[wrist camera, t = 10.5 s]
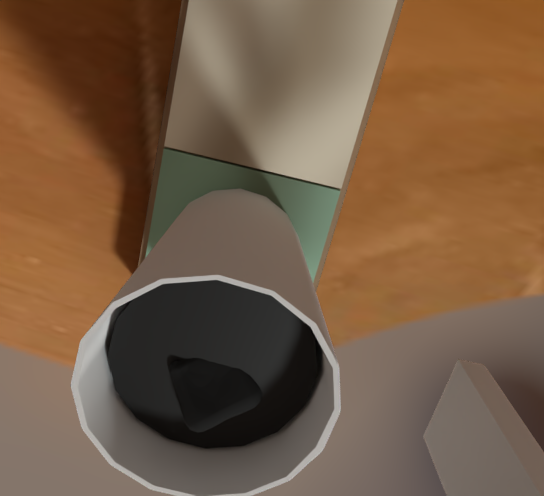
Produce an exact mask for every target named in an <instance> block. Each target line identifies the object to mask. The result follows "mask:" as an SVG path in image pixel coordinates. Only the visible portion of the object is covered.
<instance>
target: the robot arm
mask: <svg viewBox="0 0 544 496" xmlns="http://www.w3.org/2000/svg"><path fill="white" fill-rule="evenodd" d="M423 438H424V440H425V443H426V445H427V448H428V450H429V452H430V455H431V458H432V460H433V463H434V465H435V468H436V470H437V473H438V475H439V478H440V480H441V483H442V485H443V488H444V490H445V493H446V495H447V496H544V452H543V450H542V449H541V448H540V446H539V445H538V443H537V442H536V440H535V439H534V438H533V436H532V434H531V433H530V431H529V430H528V428H527V427H526V425H525V424H524V423H523V421H522V420H521V418H520V417H519V415H518V414H517V412H516V411H515V409H514V408H513V407H512V405H511V403H510V402H509V400H508V399H507V398H506V396H505V395H504V393H503V392H502V390H501V389H500V387H499V386H498V384H497V383H496V381H495V380H494V378H493V377H492V376H491V374H490V373H489V371H488V370H487V368H486V367H485V365H483V364H478V363H474V362H469V361H465V360H460V359H458V360H457V363H456V365H455V367H454V369H453V371H452V374H451V376H450V378H449V380H448V383H447V385H446V387H445V389H444V391H443V394H442V396H441V398H440V400H439V402H438V405H437V407H436V409H435V412H434V414H433V416H432V418H431V420H430V423H429V425H428V427H427V429H426V431H425V434H424V436H423Z"/></svg>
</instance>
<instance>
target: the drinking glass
mask: <svg viewBox="0 0 544 496" xmlns="http://www.w3.org/2000/svg"><path fill="white" fill-rule="evenodd" d="M71 388H72V393H73V397H74V401H75V404H76V408H77V412H78V416H79V420H80V424H81V428H82V430H83V431H84V432H85V433H86V435H87V436H88V437H89V439H90V440H91V441H92V442H93V444H94V445H95V446H96V447H97V449H98V450H99V451H100V452H101V454H102V455H103V456H104V458H105V459H106V460H107V461H108V463H109V464H110V465H112V466H113V467H115V468H116V469H118V470H120V471H121V472H123V473H124V474H126V475H128V476H130V477H131V478H133V479H134V480H136V481H138V482H139V483H141V484H142V485H144V486H146V487H147V488H149V489H151V490H154V491H159V492H163V493H167V494H171V495H176V496H252V495H255V494H257V493H260V492H262V491H265V490H267V489H270V488H272V487H275V486H277V485H280V484H282V483H285V482H287V481H290V480H291V479H292V478H293V477H294V476H295V475H296V474H298V473H299V472H300V471H301V470H302V469H303V468H304V467H305V466H306V465H308V464H309V463H310V462H311V461H312V460H313V459H314V458H315V457H316V456H317V455H319V454H320V453H321V452H322V451H323V449H324V447H325V445H326V442H327V440H328V438H329V436H330V434H331V432H332V429H333V427H334V425H335V423H336V420H337V418H338V416H339V414H340V412H341V404H340V375H339V364H338V361H337V358H336V355H335V352H334V348H333V345H332V342H331V339H330V336H329V333H328V329H327V326H326V323H325V320H324V317H323V313H322V310H321V307H320V304H319V301H318V298H317V294H316V291H315V288H314V285H313V282H312V279H311V275H310V272H309V269H308V266H307V263H306V260H305V256H304V253H303V250H302V247H301V244H300V240H299V237H298V235H297V233H296V231H295V229H294V227H293V225H292V223H291V221H290V219H289V217H288V215H287V214H286V213H285V212H284V211H283V210H282V209H280V208H279V207H278V206H277V205H276V204H274V203H273V202H272V201H271V200H270V199H268V198H267V197H265V196H262V195H259V194H256V193H253V192H250V191H246V190H243V189H228V190H214V191H211V192H209V193H207V194H205V195H203V196H201V197H199V198H197V199H196V200H194V201H192V202H190V203H189V204H188V205H187V206H186V207H185V209H184V210H183V211H182V212H181V213H180V215H179V216H178V217H177V218H176V219H175V221H174V222H173V223H172V225H171V226H170V227H169V228H168V230H167V231H166V232H165V234H164V235H163V236H162V237H161V239H160V240H159V241H158V243H157V244H156V245H155V246H154V248H153V249H152V250H151V251H150V253H149V254H148V255H147V257H146V258H145V259H144V260H143V262H142V263H141V264H140V265H139V267H138V268H137V269H136V271H135V272H134V273H133V274H132V276H131V277H130V278H129V280H128V281H127V282H126V283H125V285H124V286H123V287H122V288H121V290H120V291H119V292H118V294H117V295H116V296H115V297H114V299H113V300H112V301H111V302H110V304H109V305H108V306H107V308H106V309H105V310H104V311H103V313H102V314H101V315H100V317H99V318H98V319H97V320H96V322H95V323H94V324H93V325H92V327H91V328H90V329H89V331H88V332H87V333H86V334H85V336H84V337H83V338H82V339H81V341H80V345H79V350H78V354H77V359H76V363H75V368H74V372H73V377H72V381H71Z"/></svg>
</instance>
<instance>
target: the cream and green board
mask: <svg viewBox="0 0 544 496" xmlns="http://www.w3.org/2000/svg"><path fill="white" fill-rule="evenodd" d="M403 3H404V0H182V2H181V9H180V15H179V21H178V27H177V33H176V39H175V45H174V51H173V57H172V63H171V69H170V75H169V81H168V87H167V93H166V99H165V105H164V112H163V118H162V124H161V130H160V136H159V142H158V148H157V154H156V160H155V166H154V172H153V178H152V184H151V190H150V196H149V202H148V208H147V215H146V221H145V227H144V233H143V239H142V245H141V251H140V257H139V263H138V267H139V265H140V264H141V263H142V262H143V260H144V259H145V258H146V257H147V255H148V254H149V253H150V251H151V250H152V249H153V248H154V246H155V245H156V244H157V243H158V241H159V240H160V239H161V237H162V236H163V235H164V234H165V232H166V231H167V230H168V228H169V227H170V226H171V225H172V223H173V222H174V221H175V219H176V218H177V217H178V216H179V215H180V213H181V212H182V211H183V210H184V209H185V207H186V206H187V205H188V204H189V203H190V202H192V201H194V200H196V199H197V198H199V197H201V196H203V195H205V194H207V193H209V192H211V191H214V190H228V189H243V190H246V191H250V192H253V193H256V194H259V195H262V196H265V197H267V198H268V199H270V200H271V201H272V202H273V203H274V204H276V205H277V206H278V207H279V208H280V209H282V210H283V211H284V212H285V213H286V214H287V215H288V217H289V219H290V221H291V223H292V225H293V227H294V229H295V231H296V233H297V235H298V237H299V240H300V244H301V247H302V250H303V253H304V256H305V260H306V263H307V266H308V269H309V272H310V275H311V279H312V282H313V285H314V288H315V291H316V290H317V287H318V284H319V280H320V277H321V274H322V270H323V267H324V264H325V260H326V257H327V254H328V251H329V247H330V244H331V241H332V237H333V234H334V231H335V227H336V224H337V221H338V217H339V214H340V211H341V208H342V204H343V201H344V198H345V194H346V191H347V188H348V184H349V181H350V178H351V174H352V171H353V168H354V165H355V161H356V158H357V155H358V151H359V148H360V145H361V141H362V138H363V135H364V131H365V128H366V125H367V122H368V118H369V115H370V112H371V108H372V105H373V102H374V98H375V95H376V92H377V89H378V85H379V82H380V79H381V75H382V72H383V69H384V65H385V62H386V59H387V55H388V52H389V49H390V46H391V42H392V39H393V36H394V32H395V29H396V26H397V22H398V19H399V16H400V12H401V9H402V6H403Z"/></svg>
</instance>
